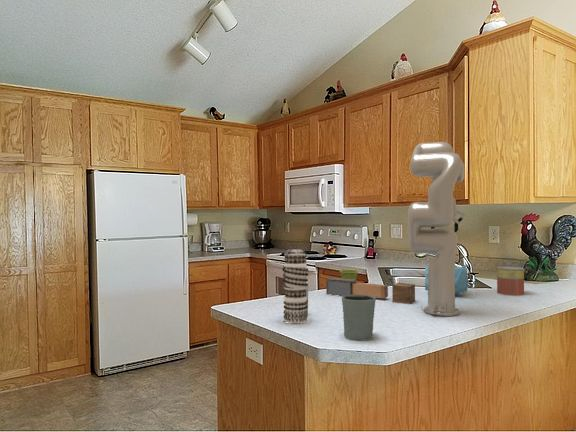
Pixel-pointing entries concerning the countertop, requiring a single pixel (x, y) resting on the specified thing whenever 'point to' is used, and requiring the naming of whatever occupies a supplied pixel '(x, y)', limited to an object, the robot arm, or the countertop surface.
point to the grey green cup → (358, 316)
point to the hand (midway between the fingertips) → (444, 232)
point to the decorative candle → (295, 286)
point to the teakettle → (460, 280)
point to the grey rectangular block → (339, 286)
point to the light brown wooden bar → (369, 289)
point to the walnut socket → (403, 293)
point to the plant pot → (349, 274)
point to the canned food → (510, 281)
